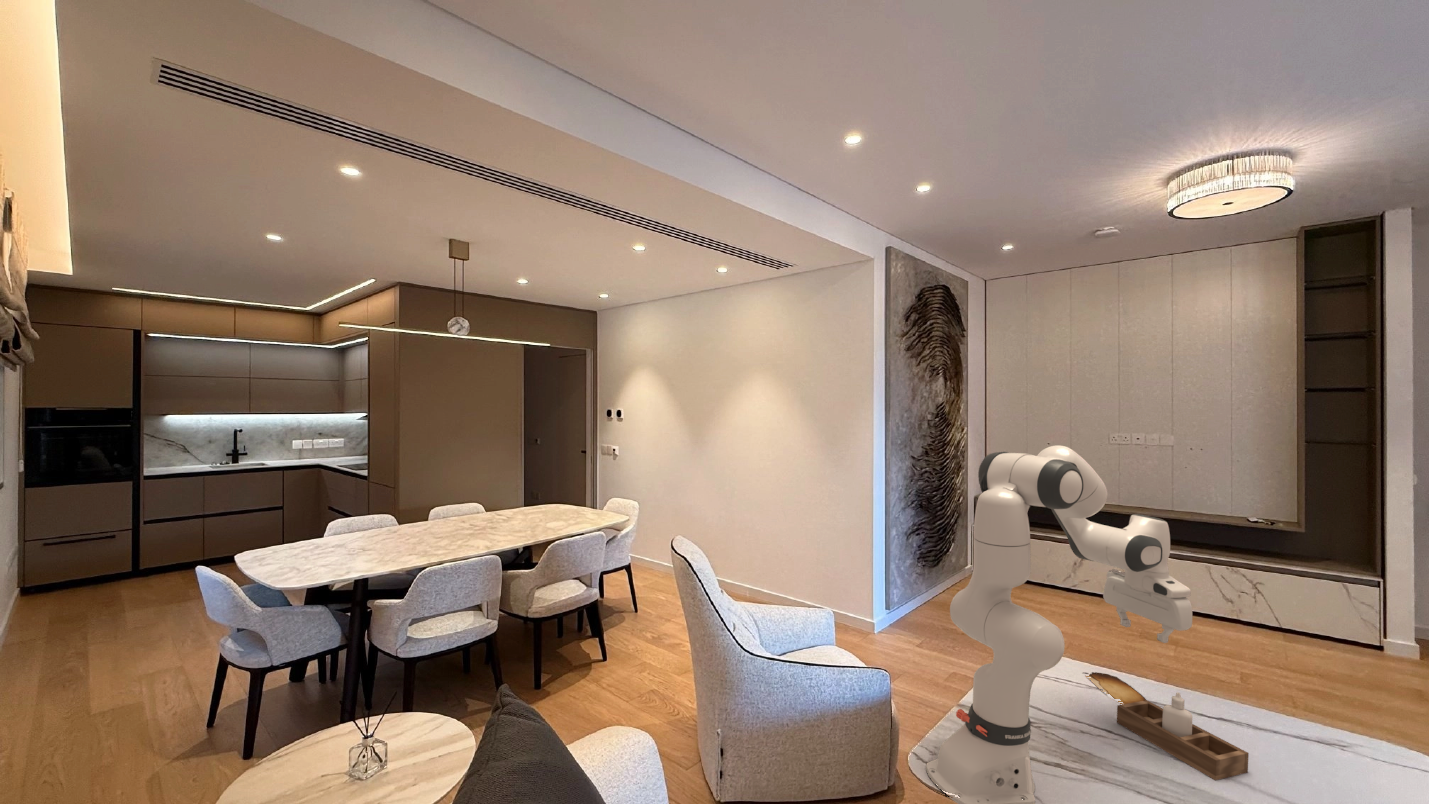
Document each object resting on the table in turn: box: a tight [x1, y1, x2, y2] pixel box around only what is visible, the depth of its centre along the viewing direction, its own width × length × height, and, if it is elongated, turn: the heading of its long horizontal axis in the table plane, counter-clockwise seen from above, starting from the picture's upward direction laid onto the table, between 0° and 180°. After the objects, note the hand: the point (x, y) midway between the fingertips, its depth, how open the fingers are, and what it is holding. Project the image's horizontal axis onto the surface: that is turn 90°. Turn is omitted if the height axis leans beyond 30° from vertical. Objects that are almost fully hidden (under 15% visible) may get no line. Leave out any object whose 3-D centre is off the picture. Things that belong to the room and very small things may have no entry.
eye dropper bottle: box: [1162, 691, 1193, 737], centre depth 139 cm, size 4×6×12 cm
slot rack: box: [1116, 699, 1250, 781], centre depth 139 cm, size 10×23×4 cm, turn 17°
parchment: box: [1082, 671, 1147, 705], centre depth 163 cm, size 25×10×1 cm, turn 173°
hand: (1143, 633), depth 144 cm, fingers open, 8 cm apart
